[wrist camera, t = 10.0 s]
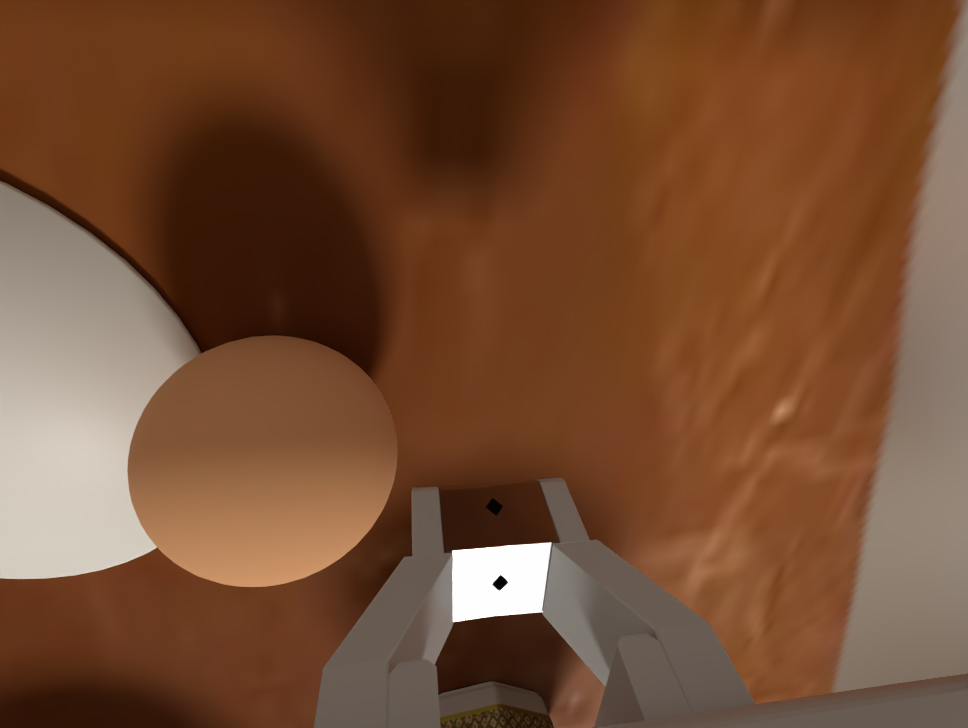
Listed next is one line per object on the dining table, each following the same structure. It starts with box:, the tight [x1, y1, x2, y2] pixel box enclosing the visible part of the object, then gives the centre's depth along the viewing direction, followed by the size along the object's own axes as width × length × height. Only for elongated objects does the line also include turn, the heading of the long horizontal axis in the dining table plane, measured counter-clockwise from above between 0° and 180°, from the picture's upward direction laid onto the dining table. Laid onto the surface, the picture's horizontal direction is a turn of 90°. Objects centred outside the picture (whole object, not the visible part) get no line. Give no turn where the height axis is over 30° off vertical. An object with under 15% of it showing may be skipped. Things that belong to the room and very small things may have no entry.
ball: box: [127, 335, 398, 587], centre depth 11 cm, size 6×6×6 cm
